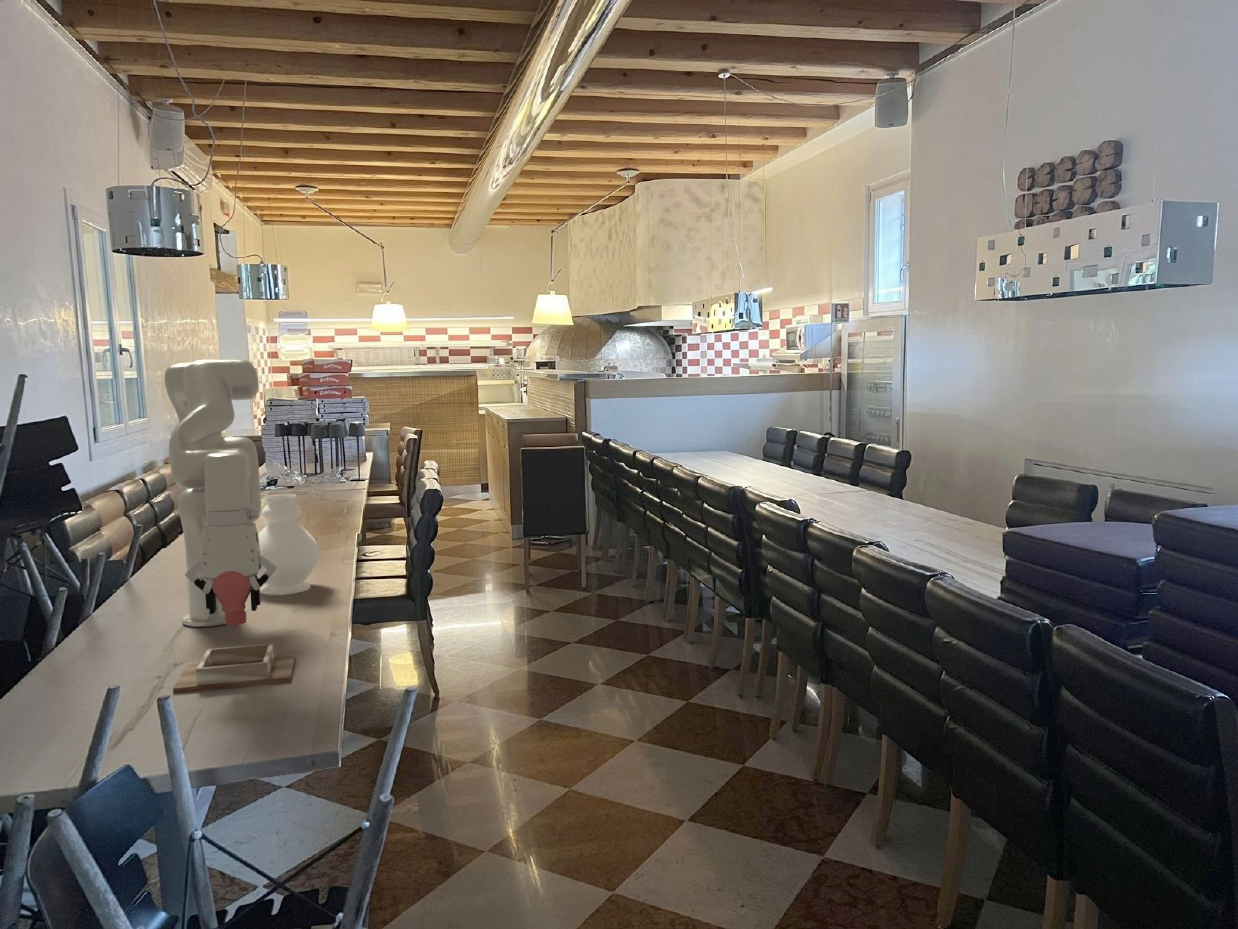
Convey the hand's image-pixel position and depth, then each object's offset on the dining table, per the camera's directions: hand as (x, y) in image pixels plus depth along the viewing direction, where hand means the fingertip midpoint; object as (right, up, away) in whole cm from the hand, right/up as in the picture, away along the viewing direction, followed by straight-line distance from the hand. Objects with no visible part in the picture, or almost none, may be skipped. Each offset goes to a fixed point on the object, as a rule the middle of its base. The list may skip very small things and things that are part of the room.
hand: (233, 610), depth 168 cm
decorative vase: (-15, -6, +66) cm, 68 cm away
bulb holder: (0, -13, +2) cm, 13 cm away
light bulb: (0, -3, 0) cm, 3 cm away
